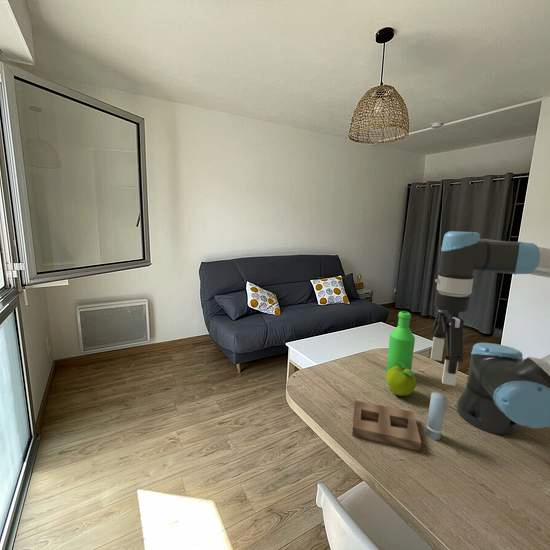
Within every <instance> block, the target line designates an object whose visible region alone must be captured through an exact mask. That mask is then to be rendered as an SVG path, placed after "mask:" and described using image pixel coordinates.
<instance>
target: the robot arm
mask: <svg viewBox="0 0 550 550" xmlns="http://www.w3.org/2000/svg"><path fill="white" fill-rule="evenodd" d="M439 259H440V260H439V268H438V269H439V270H438V276H437V277H438V278H436V279H435V280H434V282H435V283H436V290H437V291H436V292H435V295H434V296H435V297H434V303H433V304H434V306H435V307H436V308H437V312H436V316H435V319H434V322H433V325H432V329H431V331H432V333H433V334H432V336H433V337H432V345H431V353H430V360H431V361H432V360H434V361H439V362H440V361H441V362H442V360H444V364H443V371H442V378H441V379H442V380H441V383H442V384H444V385H449V386H456V381H457V377H458V370H459V363H463V362H464V321H465V320H464V319H462V318H461V317H460V313H462V312H463V313H464V312H467V311H468V310H469V308H470V302H471V297H470V296H469V295H471V294H472V293H473V285H474V277H475V276H474V274H475V272H479V273H481V272H482V273H483V272H486V273H487V272H488V273H499V274H510V275H511V274H512V275H533V276H540V277H545V278H549V279H550V248H547V247H543V246H542V247H541V246H537V244H535V243H534V242H533V243H532V242H525V241H523V242H522V241H506V240H495V239H488V238H483V237H481V235H480V233H479V232H476V231H475V232H473V231H453V230H451V231H450V230H449V231H448V232H447V231H446V233H444V236H443V239H442V245H441V248H440V258H439ZM445 342H446V343H445ZM445 344H446V355H445V356H444V357H443V353H444V347H445ZM470 355H471V356H470V360H469V361H470V362H469V367H468V375H467V382H466V387H465V388H464V389H463V392H462V393H461V394H460V396H459V398H458V399H457V403H456V408H455V410H456V413H457V414H458V415H459V417H461V418H462V419H463V420H465V421H466V422H467V423H468V424H469V425H471V426H473V427H475V428H478V429H480V430H483V431H486V432H488V433H492V434H497V435H512V434H514V433H516V432H517V430H518V426H523V427H527V428H533V429H544V428H548V427H550V353H549V354H547V355H545V356H543V357H541V358H538V357H532V356H528V357H525V358H523V353H522V352H521V351H520V350H518V349H516V348H515V347H510V346H507V345H503V344H498V343H491V342H490V343H489V342H477V343H475V344H473V346H472V351H471V352H470Z"/></svg>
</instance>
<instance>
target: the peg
mask: <svg viewBox="0 0 550 550" xmlns="http://www.w3.org/2000/svg"><path fill="white" fill-rule="evenodd" d="M446 404H447V397H446V396H445V395H444V394H443V393H440V392H436V391H435V392H431V394H430V402H429V407H428V416H427V422H426V431H425V434H426V436H427V437H428V438H429V439H431V440H434V441H439V440H441V437H442V431H443V424H444V417H445V411H446Z"/></svg>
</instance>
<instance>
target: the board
mask: <svg viewBox="0 0 550 550" xmlns="http://www.w3.org/2000/svg"><path fill="white" fill-rule="evenodd" d="M362 418H365V419H370V420H375V421H377V422H373V421H367V420H363V419H362ZM352 420H353V421H352V431H351V432H352V433H351V434H352V436H354V437H356V438H357V437H358V438H363V439H365V440H369V441H374V442H375V441H376V442H379V443H383V444H387V445H393V446H395V447H396V446H397V447H401V448H406V449H410V450H413V451H418V452H421V448H422V441H421V436H420V433H419V428H418V425H417V421H416V420H417V419H416V416H415V412H414V411H412V410H411V411H410V410H407V409H401V408H395V407H391V406H385V405H381V404H380V405H379V404H377V403H375V404H374V403H371V402H365V401H361V400H357V399H356V400H354V406H353V418H352ZM391 424H394V425H399V426H403V427H407V429H406V428H401V427H396V426H392V425H391Z"/></svg>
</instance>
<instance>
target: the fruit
mask: <svg viewBox="0 0 550 550" xmlns="http://www.w3.org/2000/svg"><path fill="white" fill-rule="evenodd" d="M396 363H397V365H398V366H394V367H392V368H391V369H389V370H388V371H386V374H385V380H386V383H387V386H388V387H389V389H390V391H391V392H392V393H393V394H394V395H396V396H399V397H406V396H409V395H411V393H413V392H414V391H415V390H416V387H417V378H416V376H415V374H414V372H413V370H412V369H411V370H409V369H407V368H405V365H404V363H403V362H396Z"/></svg>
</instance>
